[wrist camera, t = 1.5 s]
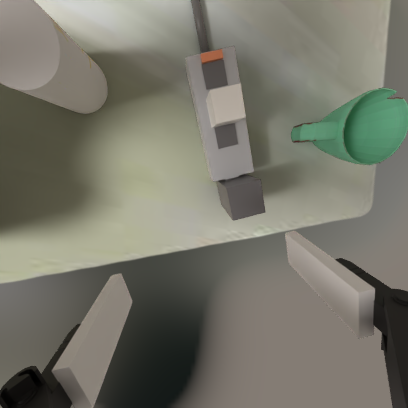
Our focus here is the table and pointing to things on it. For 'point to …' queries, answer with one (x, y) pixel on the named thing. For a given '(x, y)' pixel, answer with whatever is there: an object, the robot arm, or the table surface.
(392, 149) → the mug
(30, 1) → the pale pink cylinder
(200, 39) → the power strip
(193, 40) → the table surface
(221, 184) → the grey rectangular block
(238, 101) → the block
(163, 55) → the table surface
